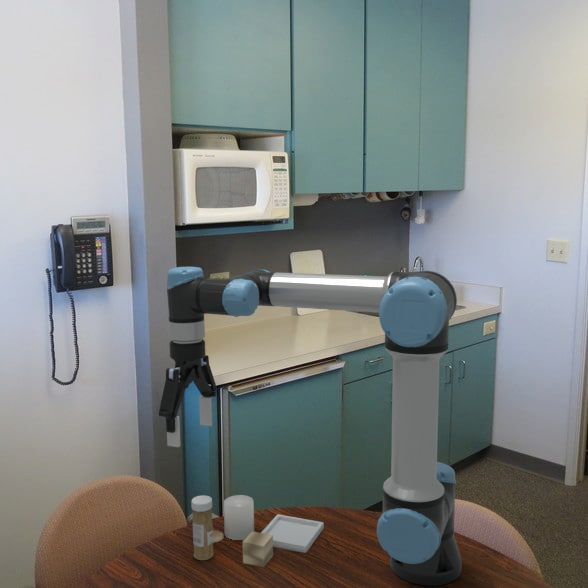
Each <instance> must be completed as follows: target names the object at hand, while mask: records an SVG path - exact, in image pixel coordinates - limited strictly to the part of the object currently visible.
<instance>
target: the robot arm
mask: <svg viewBox="0 0 588 588" xmlns="http://www.w3.org/2000/svg"><path fill="white" fill-rule="evenodd" d="M204 275H205V274H204V271H203V269H202V267H197V266H177V267H173V268H171V269H169V270H168V272H167V277H166V278H167V279H166V280H167V281H166V284H167V285H166V293H167V309H168V330H169V331H168V333H169V335H168V337H169V339H170V340H171V341H170V342H169V357H170V359H171V360H173V361H174V362H175V363H174V368H169V367H167V368H166V370H165V382H164V387H163V392H162V396H161V401H160V406H159V409H158V416H159V417H164V418H165V426H166V427H165V428H166V429H165V430H166V441H167V443H166V445H167V447H174V448H180V447H181V426H180V425H181V423H180V416H179V415H178V412H179V409H180V407H181V403H182V401H183V397H184V395H185V391H186V389H188V388H189V386H190V384H192V383H193V384H194V386H195V387H196V389H197V390H198V391H199V393H200V394H201V395H200V396H199V397H198V399H199V401H198V403H199V405H198V407H199V426H206V427H212V426H213V413H212V411H213V410H212V409H213V408H212V406H213V405H212V397H214V398H215V397H216V396H217V389H218V388H217V384H216V381H215V378H214V375H213V372H212V369H211V365H210V359H209V358H210V357H209V355H206V341H205V339H204V338H205V337H206V331H205V330H206V328H205V327H206V326H205V315H208V314H209V315H219V316H230V317H237V318H238V317H250V316H252V315H254V313H255V312H256V310H257V309H258V307H259V306H260V307H261V306H262V307H280V308H281V307H282V308H296V309H297V308H298V309H311V310H314V309H315V310H328V311H329V310H330V311H331V310H332V311H345V312H346V311H347V312H363V313H376V314H378V319H379V323H380V326H381V327H380V328H381V329H382V331H383V332H384V349H385V351H386V352H387V353H388V354H389V355H391V357H392V389H391V390H392V391H391V392H392V397H391V399H392V400H391V460H390V461H391V464H390V466H391V468H390V469H391V471H390V472H391V473H390V477H388V478H387V479H386V480H385V481H383V484H382V485H383V486H382V490H383V491H382V514H381V515H380V517H379V518H378V520H377V525H376V537H377V540H378V543H379V544H380V546H381V548H382V549H383V550H384V551H385V552H386V553H387V554H388V555H389V567H390V569H391V571H392V572H393V573H394V574H395V575H396V576H398V577H399V578H400V579H402V580H404V581H406V582H409V583H412V584H415V585H421V586H428V587H429V586H431V587H433V586H435V587H437V586H443V585H448V584H450V583H452V582H454V581H455V580H457V579H458V578H459V577H460V575H461V574H462V567H463V565H462V561H463V560H462V556H461V553H460V551H459V547H458V543H457V540H456V537H455V512H456V511H455V510H456V508H455V506H456V505H455V503H456V501H455V500H456V484H457V480H456V472H455V470H454V468H452V466H450V465H449V464H446V463H443V462H441V461H438V441H439V439H438V438H439V437H438V436H439V435H438V433H439V432H438V431H439V430H438V429H439V397H440V396H439V395H440V394H439V391H440V390H439V389H440V359H441V358H442V357H444V355H446V353H448V352H449V334H450V333H449V332H450V331H449V330H450V320H452V317H453V316H454V313H455V311H456V308H457V303H458V299H457V292H456V290H455V287H454V285H453V284H452V283H451V282H450V280H449V279H448V277H445V276H444V275H442V274H441V273H439V272H436V271H431V270H419V271H392V272H390V273H389V274H388V275H387V276H381V275H379V276H378V275H356V274H355V275H353V274H352V275H349V274H330V273H329V274H327V273H303V272H302V273H301V272H300V273H299V272H280V271H279V272H278V271H277V272H271V271H270V270H266V269H253V270H251V271H249V272H245V273H242V274H238V275H234V276H230V277H226V278H221V277H220V278H217V277H216V278H212V277H211V278H209V277H205V276H204Z"/></svg>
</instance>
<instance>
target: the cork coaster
mask: <svg viewBox="0 0 588 588" xmlns="http://www.w3.org/2000/svg"><path fill="white" fill-rule="evenodd" d="M224 536H225V534H224V532H222V531H220V530H216V529H215V530H214V529H213V544H215V542H216V543H218V542H221V541H222V540H224Z"/></svg>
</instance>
